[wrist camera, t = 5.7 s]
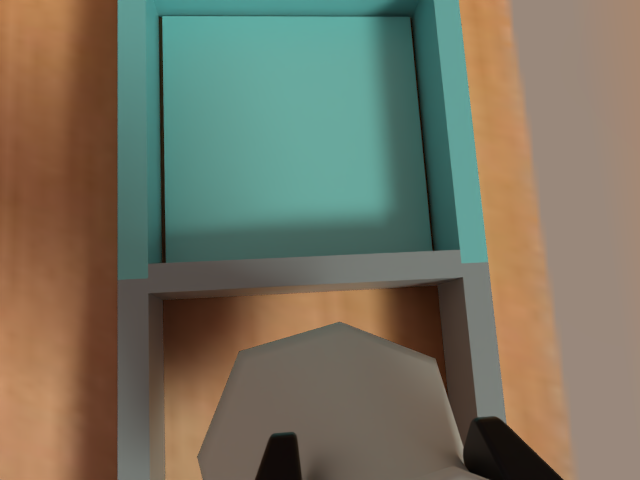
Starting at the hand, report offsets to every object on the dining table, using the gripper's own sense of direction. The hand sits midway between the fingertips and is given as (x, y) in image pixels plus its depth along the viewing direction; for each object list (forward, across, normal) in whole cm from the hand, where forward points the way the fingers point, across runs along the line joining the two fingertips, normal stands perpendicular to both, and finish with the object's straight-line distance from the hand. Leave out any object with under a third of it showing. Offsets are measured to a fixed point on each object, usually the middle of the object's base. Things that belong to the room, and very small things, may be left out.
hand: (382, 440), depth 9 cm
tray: (+12, 0, +6) cm, 14 cm away
